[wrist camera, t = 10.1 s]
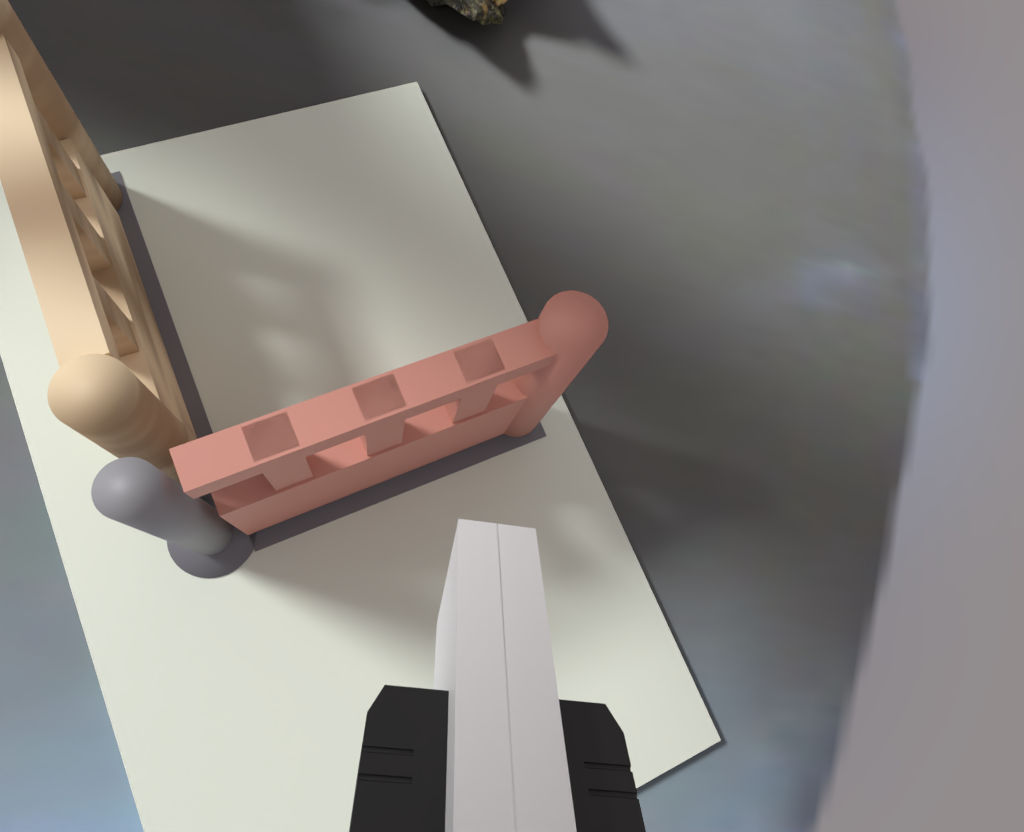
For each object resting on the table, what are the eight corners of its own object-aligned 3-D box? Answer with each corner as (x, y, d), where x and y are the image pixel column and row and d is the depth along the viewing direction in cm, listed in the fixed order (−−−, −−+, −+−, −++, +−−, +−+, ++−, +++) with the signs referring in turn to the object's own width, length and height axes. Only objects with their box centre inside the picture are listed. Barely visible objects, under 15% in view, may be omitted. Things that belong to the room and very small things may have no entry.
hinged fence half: (196, 567, 26) (98, 536, 17) (179, 516, 26) (73, 460, 17) (546, 426, 30) (619, 341, 21) (526, 384, 30) (590, 281, 21)
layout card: (-44, 195, 29) (-50, 189, 29) (416, 87, 34) (416, 80, 34) (207, 1027, 23) (204, 1034, 23) (716, 738, 28) (721, 740, 28)
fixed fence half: (64, 185, 30) (-84, -22, 20) (115, 173, 30) (-6, -34, 21) (172, 505, 27) (60, 441, 17) (225, 485, 27) (145, 413, 18)
